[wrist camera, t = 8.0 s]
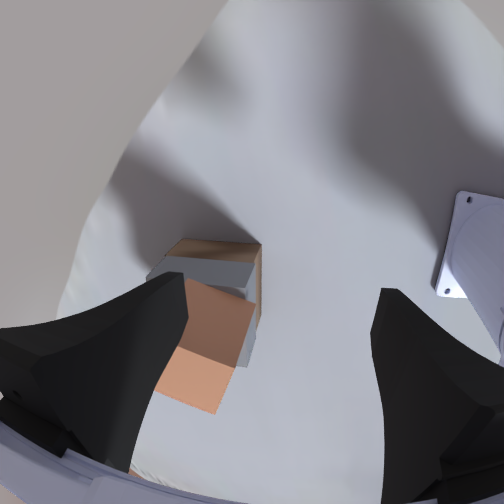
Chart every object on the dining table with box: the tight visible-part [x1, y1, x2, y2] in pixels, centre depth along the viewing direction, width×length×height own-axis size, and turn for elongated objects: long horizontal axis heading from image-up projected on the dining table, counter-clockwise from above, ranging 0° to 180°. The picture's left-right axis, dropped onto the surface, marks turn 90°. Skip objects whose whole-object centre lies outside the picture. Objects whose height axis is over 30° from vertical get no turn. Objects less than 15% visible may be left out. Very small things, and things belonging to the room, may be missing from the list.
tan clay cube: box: [154, 278, 256, 415], centre depth 16 cm, size 4×4×5 cm
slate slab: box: [146, 256, 256, 367], centre depth 20 cm, size 6×6×3 cm
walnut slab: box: [165, 239, 262, 330], centre depth 22 cm, size 6×6×3 cm
